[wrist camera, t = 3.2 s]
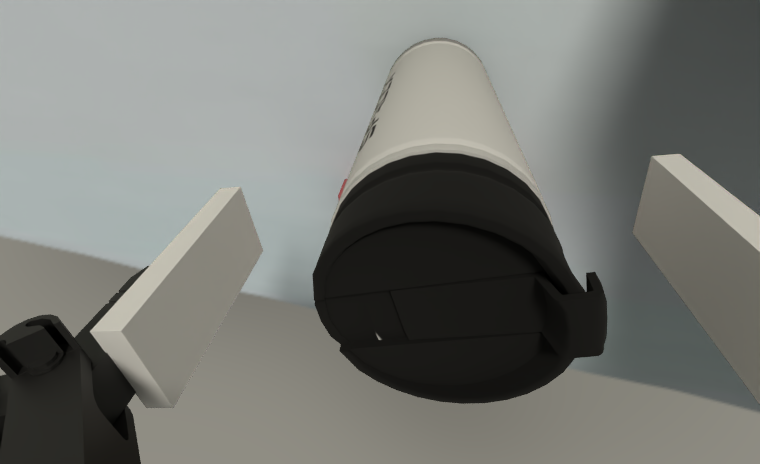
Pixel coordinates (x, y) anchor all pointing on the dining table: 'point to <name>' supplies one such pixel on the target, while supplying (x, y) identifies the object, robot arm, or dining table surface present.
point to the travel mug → (450, 246)
